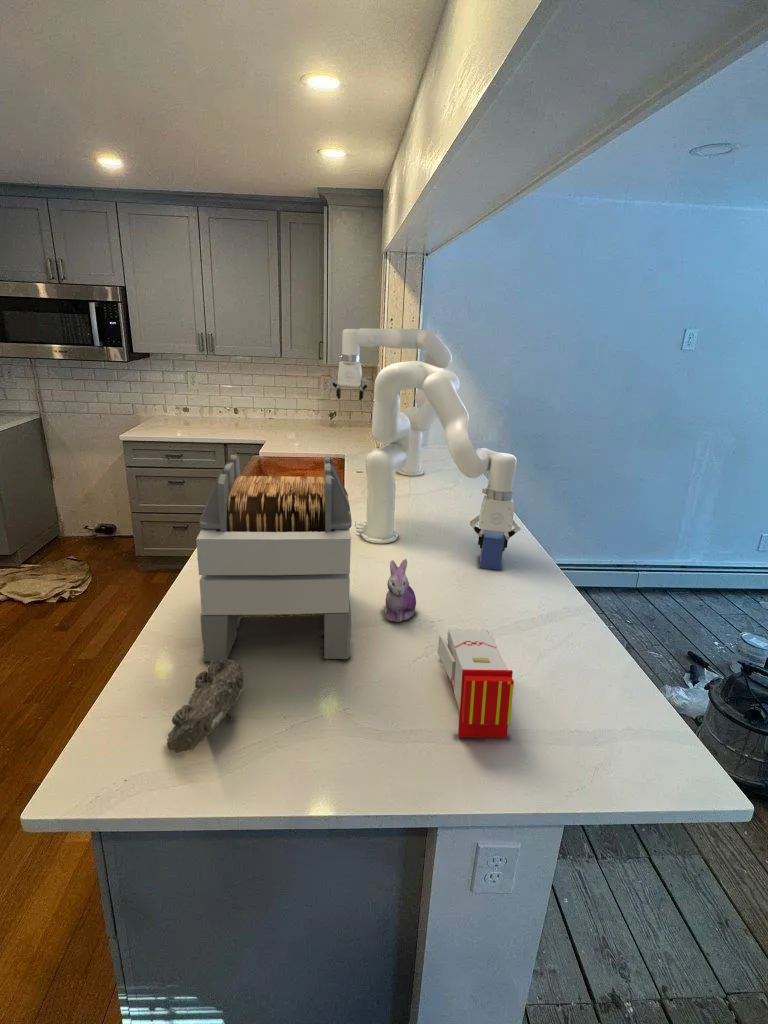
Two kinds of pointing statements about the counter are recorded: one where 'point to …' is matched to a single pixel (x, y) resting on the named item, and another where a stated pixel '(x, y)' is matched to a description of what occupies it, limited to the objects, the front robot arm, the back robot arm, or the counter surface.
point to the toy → (478, 682)
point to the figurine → (399, 594)
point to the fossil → (206, 705)
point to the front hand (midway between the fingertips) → (491, 547)
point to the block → (492, 550)
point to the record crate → (275, 555)
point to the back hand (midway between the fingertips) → (349, 399)
